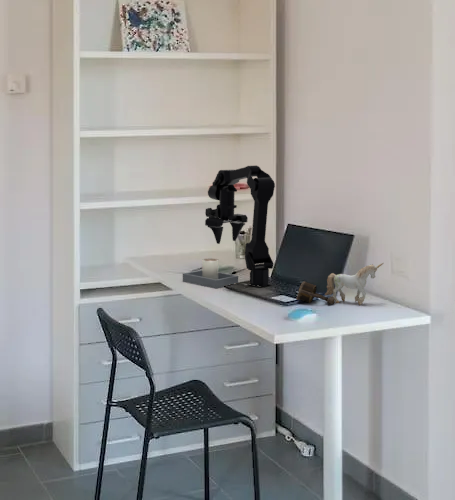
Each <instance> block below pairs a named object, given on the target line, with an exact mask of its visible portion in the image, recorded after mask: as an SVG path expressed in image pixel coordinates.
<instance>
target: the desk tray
mask: <svg viewBox="0 0 455 500" xmlns="http://www.w3.org/2000/svg"><path fill="white" fill-rule="evenodd" d="M182 282H183V283H189V284H193V285H198V286H202V287H208V288H213V289H220V288H225V287H224V286H225V285H229V284H234V283H238V284H239V275H235V274H232V273H231V274H230V273H225V272H219V271H218V279H217V280H215V279H210V278H205V277H202V269H201V270H200V269H199V270H196V271H194V270H193V271H188V272H186V273H185V272H184V273H182Z"/></svg>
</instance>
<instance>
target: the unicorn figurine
mask: <svg viewBox="0 0 455 500" xmlns="http://www.w3.org/2000/svg"><path fill="white" fill-rule="evenodd" d="M383 265H384V262H382V263H380V264H378V265H377V266H375V265H374V264H373V263H372V264H370V265H366V266H364V267H362V268H360V269H359V270H358V271H357V272H356V274H353V275H349V274H345V273H338V274H335V273H334V272H332V273H330V274H329V275H328V276H327V279H326V281H327V283H326V284H327V285H326V288H327V289H326V292H325V293H324V296H330V295H331V296H332V297H333V298H334V303H335V304H340V303H341V302H340V301H339V299H338V298H337V292H339V296H340V298H341V301H342V302H345V300H346V293H345V292H344V291H343V290H342V288H343V287H345V288H348V289H352V290H353V289H355V290H356V289H357V291H356V295H355V296H354V302H355V303H356V302H357V303H358V305H359V306H361V305H363V303H364V301H365V298H366V295H367V293H366V291H365V287H366V285H367V280H368V279H367V278H368V276H369V275H370V279H375V278H376V272H377V271H378V269H379V267H382V266H383ZM360 294H362V296H361V297H360Z"/></svg>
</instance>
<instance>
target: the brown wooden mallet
mask: <svg viewBox="0 0 455 500" xmlns="http://www.w3.org/2000/svg"><path fill="white" fill-rule="evenodd" d="M332 296H333V295H331V296H329V297H327V296H326V295H322V294H319V293H317V285H315V284H313V283H310V282H307V281H305V280H304V281H302V282H301V284H300V285H299V288H298V293H297V295H296V298H295V299H296V300H299V301H303V302H306V303H308V304H311V303H312V301H314V298H316V299H320V300H323V301H325V302H327V304H328V305H330V306H331V305H334V303H335V301H334V298H333V297H332Z"/></svg>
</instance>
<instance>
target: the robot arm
mask: <svg viewBox="0 0 455 500" xmlns="http://www.w3.org/2000/svg"><path fill="white" fill-rule="evenodd" d="M245 179H246V185H247V186H248V188H249V189H250V195H251V198H252V199H253V201H254V203H253V217H252V229H251V240H250V241H249V242H246V244H245V250H244V260H245V265H246V269H247V270H248V271H249V283H247V285H248V284H251V285H255V286H257V285H259V286H264V287H268V286H267V285H269V286H272V283H270V281H269V280H270V279H269V278H270V277H269V276H270V269H273V267H274V262H273V259H272V257H271V256H270V253H269V252H270V250H269V249H270V248H269V247H268V244H267V242H266V234H267V233H266V232H267V231H266V230H267V221H268V208H269V202H270V201H271V199H272V198H273V196H274V192H275V188H276V185H275V181H274V180H273V178H272V177H271V176H270V174H269V173H267V172H265V171H264V170H262V169H261V167H260V166H259V165H247V166H244V167H241V168H238V169H237V168H236V169H220V170H218V172H217V174H216V175H215V179H214V180H213V182H212V185H211V186H210V187H209V188H208V190H207V195H208V197H209V198H210V199H212V200H216V201H219V203H218V204H216V208H214V209H213V208H212V207H208V208H205V212H204V213H205V217H206V219H205V221H204V225H205V226H207V228H209V229H210V230H211V231H212V232H213V236H214V239H215V242H216V244H217V245H220V243H221V242H222V241H221V239H222V236H223V231H224V226H223V225H224V224H226V223H229V224H230V225H231V232H232V233H231V235H232V236H231V237H232V241H233V242H236V241H237V238H238V236H239V235H240V232H241V230H242V229H243V227H244V226H245V225H246V223H248V216H247V215H246V214H241V213H235V209H237V207H238V206H237V205H236V204H235V193H236V192H238V189H237V188H236V187H235V185H236V184H237V183H239V182H240V180H245ZM255 286H254V287H255Z"/></svg>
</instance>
